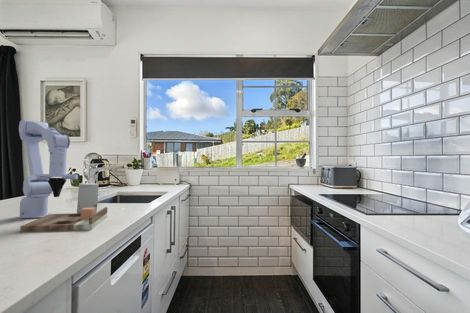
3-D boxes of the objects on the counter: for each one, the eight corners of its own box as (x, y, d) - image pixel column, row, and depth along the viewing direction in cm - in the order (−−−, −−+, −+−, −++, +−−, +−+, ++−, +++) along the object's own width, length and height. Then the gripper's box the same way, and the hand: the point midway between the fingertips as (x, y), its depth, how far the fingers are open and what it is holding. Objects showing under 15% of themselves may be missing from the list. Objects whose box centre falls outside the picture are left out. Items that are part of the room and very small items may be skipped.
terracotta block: (80, 219, 105) (80, 209, 105) (84, 217, 109) (84, 207, 109) (91, 219, 106) (91, 209, 106) (94, 217, 110) (95, 207, 110)
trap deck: (20, 232, 93) (20, 219, 93) (49, 218, 114) (50, 208, 114) (91, 229, 98) (92, 217, 98) (107, 217, 119) (107, 207, 119)
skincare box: (76, 217, 117) (77, 184, 118) (77, 215, 123) (78, 183, 123) (97, 216, 121) (98, 183, 122) (97, 213, 127) (98, 182, 127)
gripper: (32, 163, 103) (31, 198, 103) (73, 164, 107) (72, 198, 106) (41, 163, 110) (40, 195, 110) (79, 164, 113) (78, 195, 113)
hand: (56, 196), depth 109 cm, fingers closed
